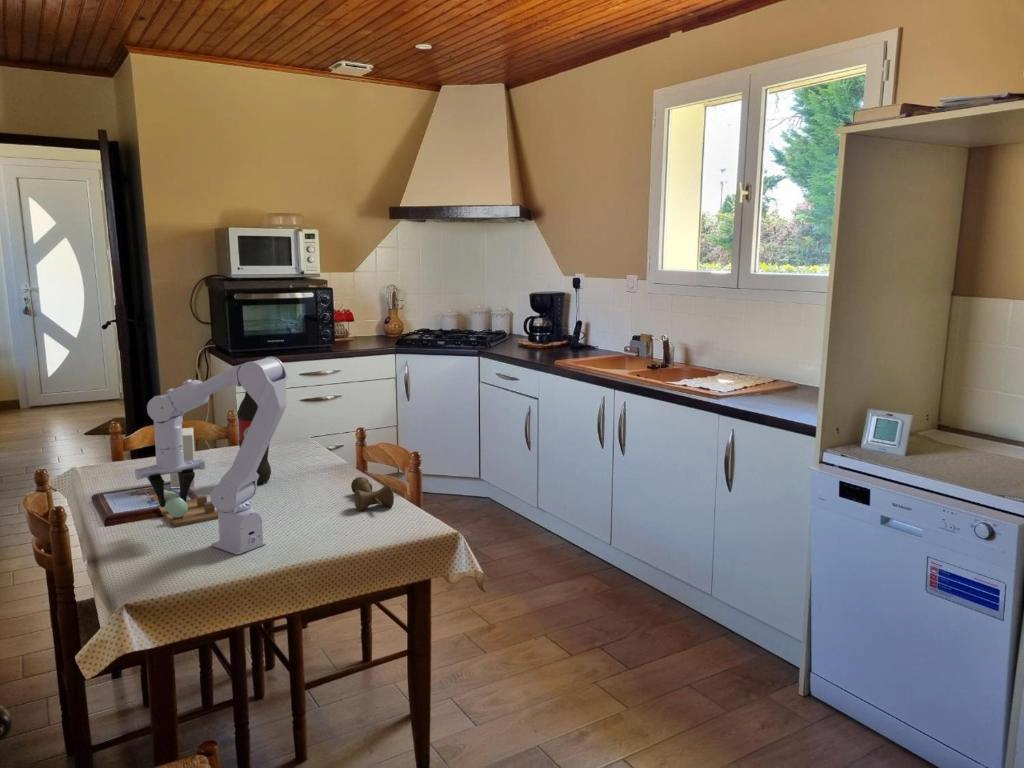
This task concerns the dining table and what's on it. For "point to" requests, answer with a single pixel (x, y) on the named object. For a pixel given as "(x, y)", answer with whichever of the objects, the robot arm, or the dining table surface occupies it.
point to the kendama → (370, 494)
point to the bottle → (174, 504)
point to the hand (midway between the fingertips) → (172, 503)
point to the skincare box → (185, 455)
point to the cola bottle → (244, 422)
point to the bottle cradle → (193, 512)
